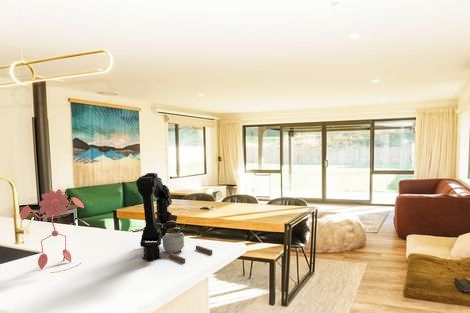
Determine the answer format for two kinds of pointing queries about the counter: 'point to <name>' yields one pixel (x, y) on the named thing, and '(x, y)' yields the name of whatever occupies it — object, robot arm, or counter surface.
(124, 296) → the counter surface
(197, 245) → the guide rails
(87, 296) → the counter surface
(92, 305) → the counter surface
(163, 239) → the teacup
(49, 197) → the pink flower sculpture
